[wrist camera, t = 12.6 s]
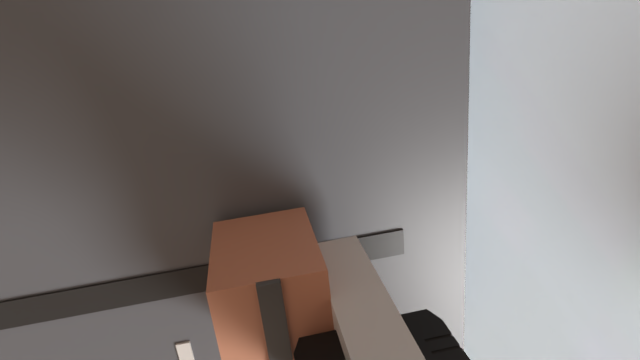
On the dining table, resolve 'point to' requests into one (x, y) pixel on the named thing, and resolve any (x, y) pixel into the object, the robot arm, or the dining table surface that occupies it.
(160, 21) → the fader panel
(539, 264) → the dining table surface
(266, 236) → the terracotta fader
